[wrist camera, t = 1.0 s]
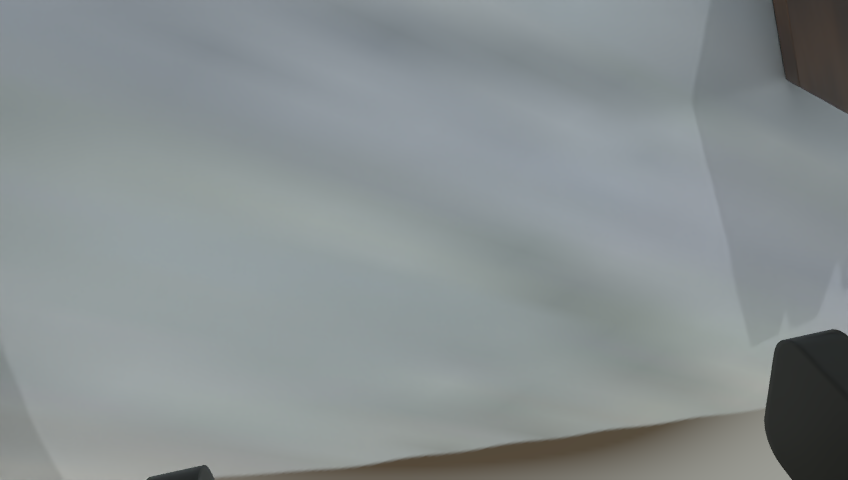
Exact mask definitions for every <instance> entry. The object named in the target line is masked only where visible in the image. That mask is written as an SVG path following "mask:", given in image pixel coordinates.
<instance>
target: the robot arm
mask: <svg viewBox="0 0 848 480" xmlns="http://www.w3.org/2000/svg"><path fill="white" fill-rule="evenodd" d="M764 422H765V431H766V435H767V439H768V442H769V444H770V447H771V449H772V451H773V453H774V455H775V457H776V458H777V460H778V462H779V463H780V464H781V466H782V467H783V468H784V470H785V471H786V472H787V474H788V475H789V476H790V478H791V479H792V480H848V336H847V335H846V334H845V333H843V332H841V331H839V330H834V329H831V330H827V331H822V332H818V333H813V334H809V335H804V336H800V337H795V338H790V339H786V340H782V341H780V342H779V343H778V344H777V346H776V348H775V351H774V357H773V364H772V370H771V377H770V384H769V390H768V397H767V404H766V410H765V419H764ZM147 480H214V477H213V475H212V473H211V471H210V469H209V468H208V467H207V466H206V465H202V466H198V467H193V468H189V469H184V470H179V471H175V472H170V473H166V474H161V475H157V476H152V477H149V478H148V479H147Z"/></svg>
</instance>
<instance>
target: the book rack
mask: <svg viewBox="0 0 848 480" xmlns="http://www.w3.org/2000/svg"><path fill="white" fill-rule="evenodd" d="M773 5H774V11H775V16H776V22H777V28H778V34H779V40H780V46H781V51H782V57H783V63H784V69H785V75H786V79H787V80H788V81H790V82H791V83H793V84H795V85H797V86H799V87H801V88H802V89H804V90H806V91H808V92H809V93H811V94H813V95H815V96H817V97H818V98H820V99H822V100H824V101H826V102H827V103H829V104H831V105H833V106H834V107H836V108H838V109H840V110H842V111H843V112H845V113H847V114H848V0H773Z"/></svg>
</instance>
